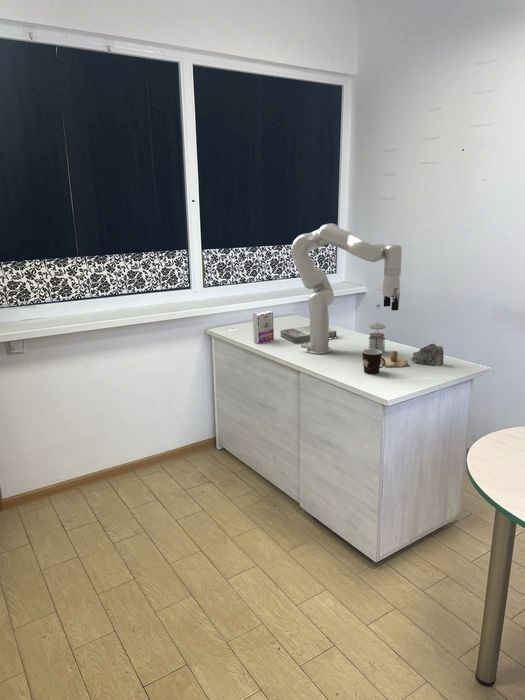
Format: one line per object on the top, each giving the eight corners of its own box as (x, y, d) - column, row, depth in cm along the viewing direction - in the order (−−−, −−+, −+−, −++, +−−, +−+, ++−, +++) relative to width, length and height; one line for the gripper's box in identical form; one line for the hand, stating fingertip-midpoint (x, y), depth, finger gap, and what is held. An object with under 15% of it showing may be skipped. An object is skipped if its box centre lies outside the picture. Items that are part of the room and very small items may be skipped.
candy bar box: (268, 338, 286) (267, 310, 282) (274, 340, 283) (273, 311, 278) (253, 342, 279) (252, 313, 275) (259, 344, 276) (258, 315, 271)
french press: (386, 350, 257) (388, 302, 250) (385, 357, 246) (388, 307, 239) (367, 350, 259) (368, 302, 252) (365, 356, 249) (367, 306, 242)
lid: (385, 368, 228) (386, 356, 227) (377, 360, 240) (377, 348, 238) (411, 366, 229) (411, 354, 228) (401, 359, 241) (402, 347, 239)
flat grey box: (337, 338, 285) (337, 331, 283) (294, 344, 274) (294, 337, 273) (320, 331, 301) (320, 324, 300) (279, 337, 290) (279, 330, 289)
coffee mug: (359, 370, 228) (359, 349, 225) (377, 369, 228) (378, 348, 226) (366, 379, 216) (367, 356, 214) (386, 378, 217) (387, 355, 214)
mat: (385, 369, 228) (385, 368, 228) (377, 361, 240) (377, 360, 240) (411, 367, 230) (411, 366, 229) (401, 360, 241) (401, 358, 241)
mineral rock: (409, 363, 236) (411, 342, 233) (422, 358, 243) (424, 338, 240) (434, 369, 226) (436, 348, 224) (447, 364, 233) (449, 343, 230)
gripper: (377, 270, 241) (376, 305, 246) (391, 274, 225) (390, 312, 229) (392, 269, 242) (391, 304, 247) (407, 274, 226) (405, 311, 230)
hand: (390, 308), depth 238 cm, fingers open, 9 cm apart
